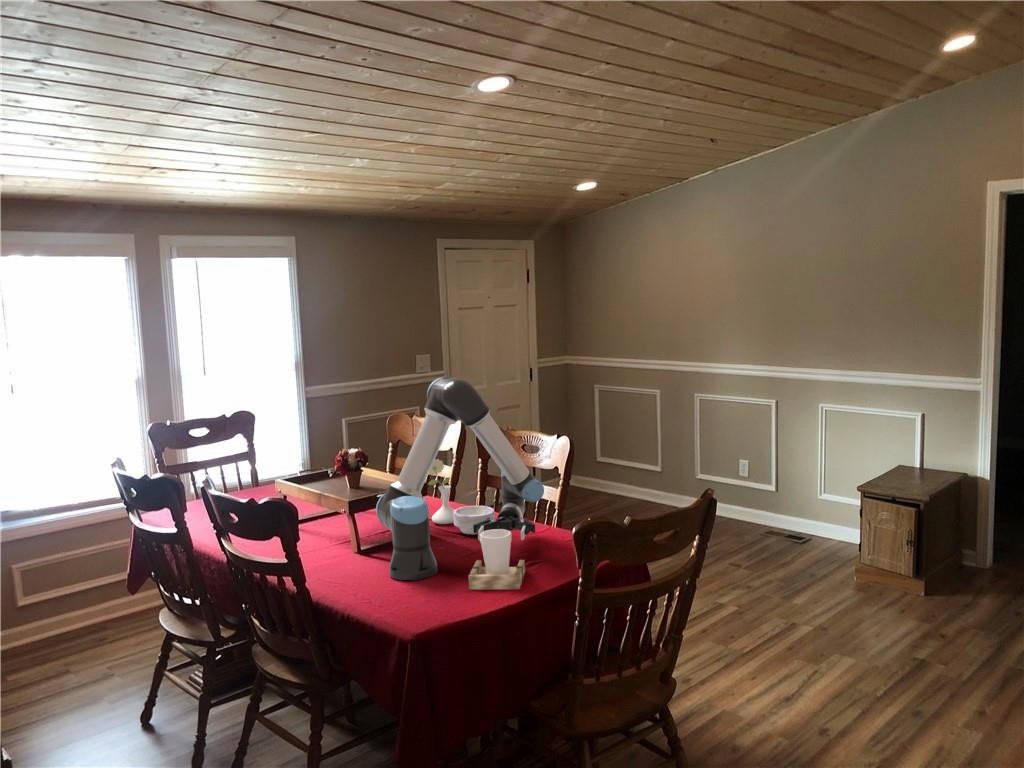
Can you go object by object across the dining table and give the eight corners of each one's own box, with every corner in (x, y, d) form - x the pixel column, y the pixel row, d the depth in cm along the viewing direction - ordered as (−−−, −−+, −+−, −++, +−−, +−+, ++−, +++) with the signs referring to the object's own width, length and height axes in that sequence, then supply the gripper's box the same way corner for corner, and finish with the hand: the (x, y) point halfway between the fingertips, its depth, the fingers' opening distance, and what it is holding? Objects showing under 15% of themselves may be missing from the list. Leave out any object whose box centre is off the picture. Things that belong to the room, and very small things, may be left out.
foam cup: (509, 581, 236) (507, 538, 235) (479, 580, 238) (476, 538, 237) (515, 570, 246) (513, 529, 244) (486, 569, 247) (484, 528, 246)
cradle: (468, 589, 236) (467, 576, 235) (477, 571, 250) (476, 559, 250) (520, 589, 234) (519, 576, 233) (526, 571, 248) (525, 559, 248)
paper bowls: (504, 530, 294) (502, 509, 293) (472, 540, 284) (470, 518, 283) (477, 522, 305) (476, 502, 304) (446, 532, 295) (444, 511, 294)
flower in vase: (461, 517, 314) (457, 454, 311) (461, 525, 303) (457, 460, 300) (428, 519, 313) (424, 456, 311) (427, 527, 302) (422, 462, 299)
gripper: (546, 527, 270) (540, 547, 249) (474, 528, 274) (462, 547, 253) (545, 506, 269) (539, 523, 248) (473, 506, 273) (461, 524, 252)
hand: (500, 535), depth 251 cm, fingers open, 13 cm apart
